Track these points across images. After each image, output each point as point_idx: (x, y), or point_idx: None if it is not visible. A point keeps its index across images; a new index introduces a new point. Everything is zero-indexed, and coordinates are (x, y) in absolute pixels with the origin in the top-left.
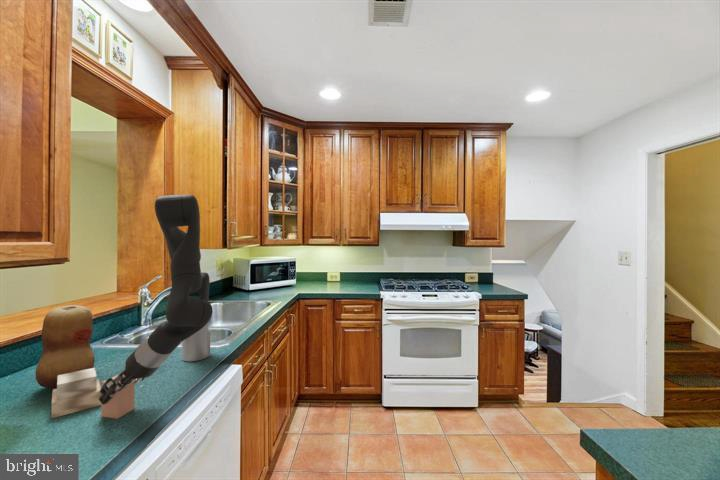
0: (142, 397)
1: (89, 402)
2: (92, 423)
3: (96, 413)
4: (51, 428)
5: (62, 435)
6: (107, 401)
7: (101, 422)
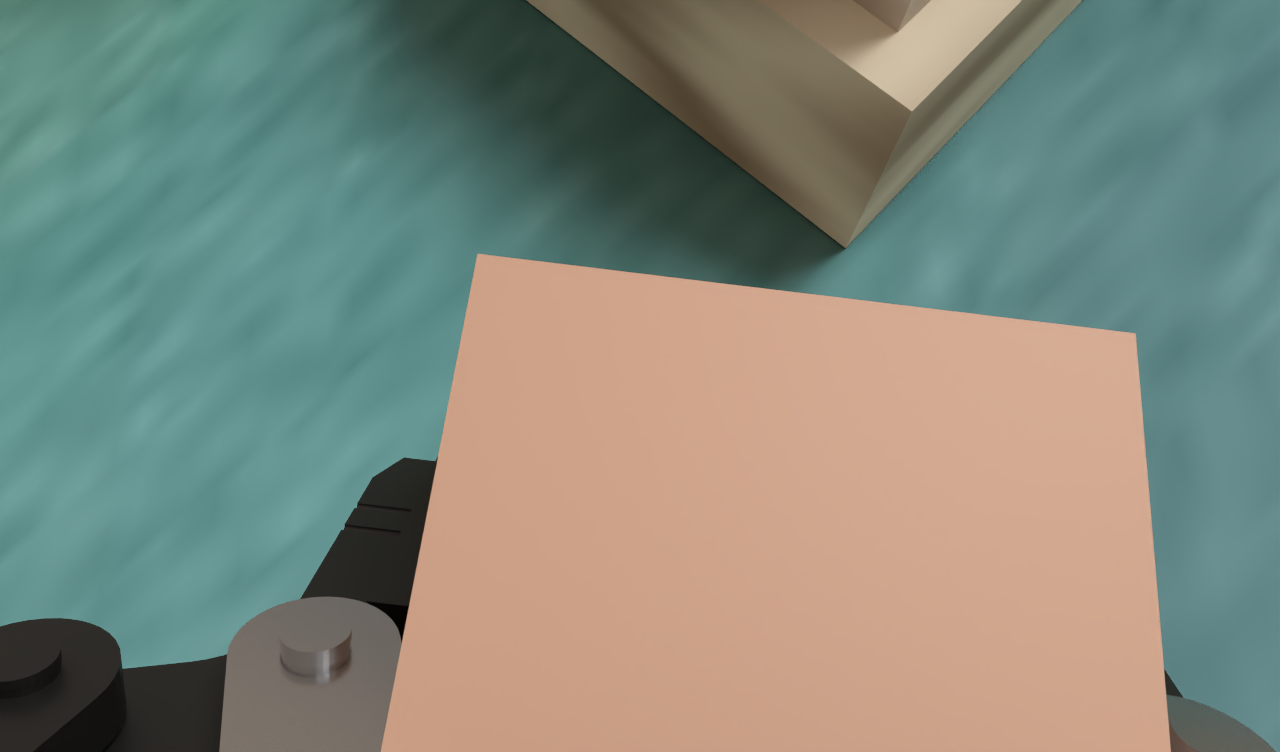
0: None
1: (751, 113)
2: None
3: None
4: (229, 128)
5: (36, 405)
6: None
7: None
